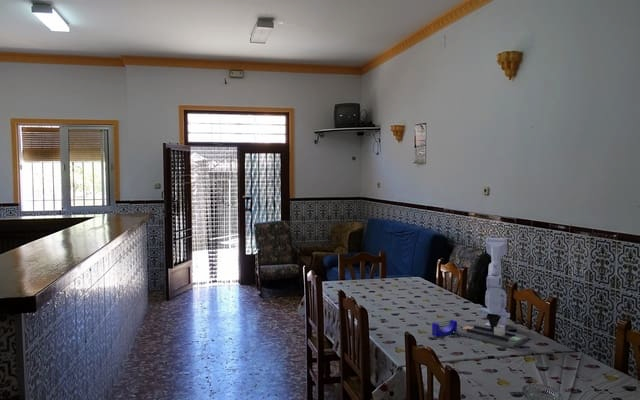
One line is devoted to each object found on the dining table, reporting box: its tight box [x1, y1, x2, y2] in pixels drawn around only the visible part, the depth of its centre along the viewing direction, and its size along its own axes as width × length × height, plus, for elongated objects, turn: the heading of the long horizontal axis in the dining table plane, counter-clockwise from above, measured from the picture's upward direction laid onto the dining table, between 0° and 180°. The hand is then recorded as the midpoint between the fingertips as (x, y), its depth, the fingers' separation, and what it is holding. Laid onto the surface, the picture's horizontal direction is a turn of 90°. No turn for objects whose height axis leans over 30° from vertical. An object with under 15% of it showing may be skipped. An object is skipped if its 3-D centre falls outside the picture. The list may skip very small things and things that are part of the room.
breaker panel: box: [454, 323, 529, 349], centre depth 233 cm, size 16×28×2 cm, turn 46°
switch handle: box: [494, 325, 506, 336], centre depth 230 cm, size 5×3×4 cm, turn 136°
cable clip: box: [431, 319, 458, 338], centre depth 238 cm, size 12×4×6 cm, turn 113°
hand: (493, 330), depth 232 cm, fingers closed
